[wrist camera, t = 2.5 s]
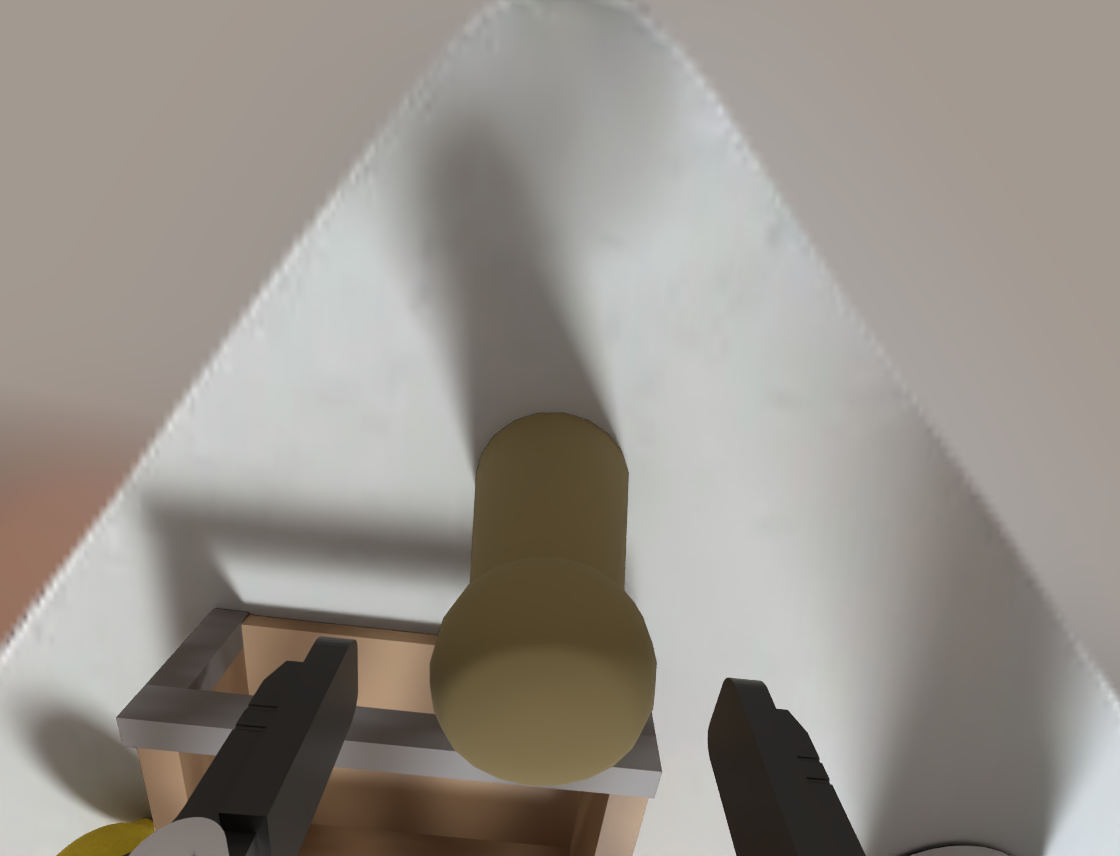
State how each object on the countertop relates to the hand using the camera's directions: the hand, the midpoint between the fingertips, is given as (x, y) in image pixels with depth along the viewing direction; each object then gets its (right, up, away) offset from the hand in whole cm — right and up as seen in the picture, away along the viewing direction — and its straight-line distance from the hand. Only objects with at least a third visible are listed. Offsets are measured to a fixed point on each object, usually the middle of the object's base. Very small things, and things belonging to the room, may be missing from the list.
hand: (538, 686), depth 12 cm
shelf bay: (-6, -10, +15) cm, 19 cm away
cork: (0, +3, +10) cm, 10 cm away
